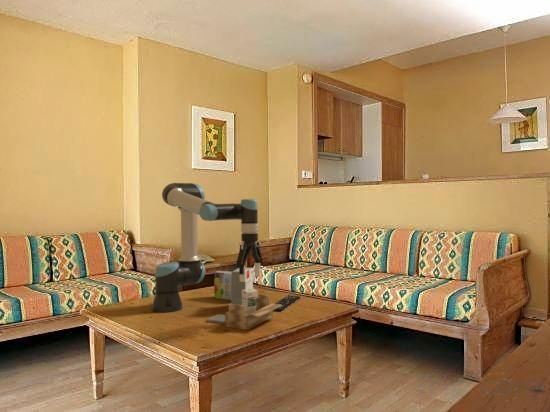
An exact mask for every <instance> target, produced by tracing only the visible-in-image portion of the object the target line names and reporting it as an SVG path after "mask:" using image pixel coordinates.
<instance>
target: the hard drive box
mask: <svg viewBox="0 0 550 412" xmlns="http://www.w3.org/2000/svg"><path fill="white" fill-rule="evenodd" d="M231 272H232V275H231V300H230V304H235V305H242V290H246V289H254V268H253V267H246V282H240V274H239V267H238V268H236V269H234V270H233V271H231Z"/></svg>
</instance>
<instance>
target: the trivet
mask: <svg viewBox="0 0 550 412" xmlns="http://www.w3.org/2000/svg"><path fill="white" fill-rule="evenodd" d="M205 322H207V323H214V324H222V325H225V314H219V313H218V314H216V315H213V316H211V317H209V318H206V319H205Z"/></svg>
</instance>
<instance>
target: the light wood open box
mask: <svg viewBox="0 0 550 412" xmlns="http://www.w3.org/2000/svg"><path fill="white" fill-rule="evenodd" d="M280 306H282V305H281V304H275V303H270V295H269V294H262V293H258V310H257V311H255V312H253V313H251V314H249V315H245V306H244V305H235V304H231V303H229V304H228V311H227V312H225V314H224V315H225V324H224V325H225V328H226V327H228V328H234V329H241V330H247V331H248V330H251V329H252V328H254V327H256V326H258V325H260V324H262V323H263V322H265V321H266V322H267V320H269V319H272V317H274V311H273V310H274V309H276V308H278V307H280Z"/></svg>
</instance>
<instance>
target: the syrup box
mask: <svg viewBox="0 0 550 412" xmlns="http://www.w3.org/2000/svg"><path fill="white" fill-rule="evenodd" d="M258 294H259V290H257V289H255V288H253V289H246V290H242V305H244V306H245V315H249V314H251V313H253V312H255V311H257V310H258Z"/></svg>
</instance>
